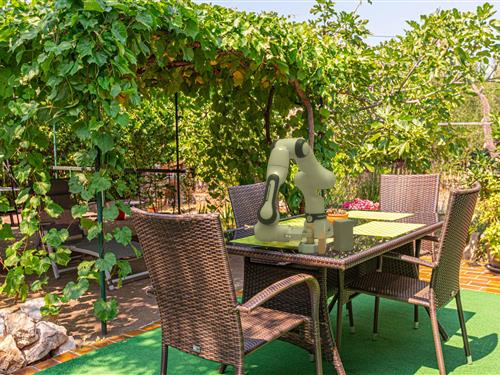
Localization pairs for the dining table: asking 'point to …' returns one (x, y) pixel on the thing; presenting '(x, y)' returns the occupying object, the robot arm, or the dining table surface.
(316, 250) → the block
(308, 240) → the dowel
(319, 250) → the wall
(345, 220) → the skincare box
